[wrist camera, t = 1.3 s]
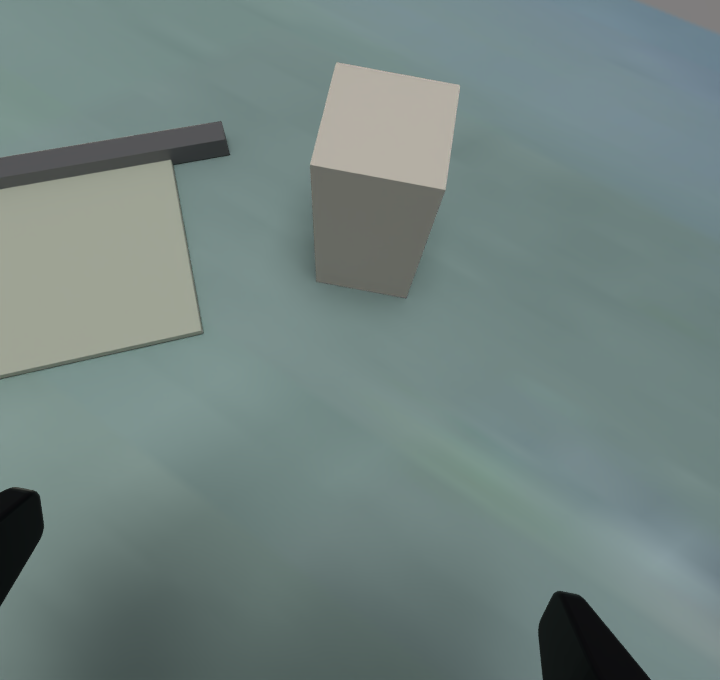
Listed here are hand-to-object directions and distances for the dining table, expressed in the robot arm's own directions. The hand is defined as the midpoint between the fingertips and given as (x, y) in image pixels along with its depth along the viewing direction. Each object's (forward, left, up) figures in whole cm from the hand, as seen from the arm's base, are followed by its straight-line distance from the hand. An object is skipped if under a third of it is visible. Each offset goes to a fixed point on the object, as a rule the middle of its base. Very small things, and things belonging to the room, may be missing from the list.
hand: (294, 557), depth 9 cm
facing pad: (+2, +17, -14) cm, 22 cm away
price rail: (+5, +21, -14) cm, 26 cm away
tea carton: (+12, +7, -14) cm, 19 cm away
